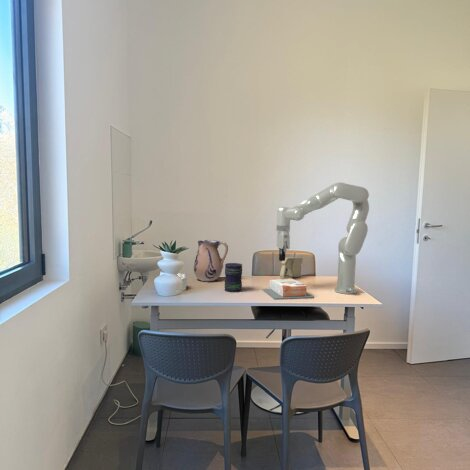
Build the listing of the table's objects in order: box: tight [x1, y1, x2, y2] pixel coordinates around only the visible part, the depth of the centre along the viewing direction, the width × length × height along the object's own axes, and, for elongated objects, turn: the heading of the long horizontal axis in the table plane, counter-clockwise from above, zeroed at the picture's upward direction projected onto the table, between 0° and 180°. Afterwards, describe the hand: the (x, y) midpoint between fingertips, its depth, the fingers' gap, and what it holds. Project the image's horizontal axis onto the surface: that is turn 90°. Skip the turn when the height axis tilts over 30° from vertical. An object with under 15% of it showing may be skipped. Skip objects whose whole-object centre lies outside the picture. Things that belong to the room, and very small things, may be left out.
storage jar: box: [224, 262, 243, 293], centre depth 233 cm, size 10×10×18 cm
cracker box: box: [268, 277, 308, 297], centre depth 230 cm, size 14×6×21 cm
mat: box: [262, 288, 314, 301], centre depth 229 cm, size 22×22×1 cm
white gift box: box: [175, 272, 187, 293], centre depth 233 cm, size 10×13×9 cm
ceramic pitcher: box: [193, 239, 229, 282], centre depth 259 cm, size 18×21×25 cm
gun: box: [279, 256, 304, 279], centre depth 272 cm, size 24×3×15 cm, turn 143°
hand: (282, 260), depth 237 cm, fingers closed
